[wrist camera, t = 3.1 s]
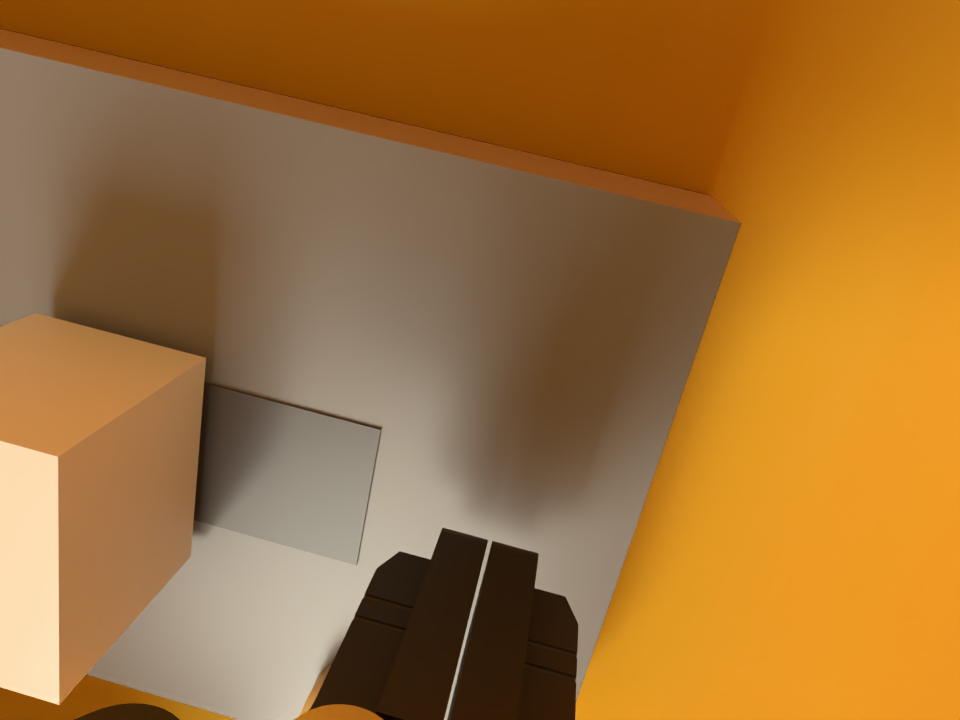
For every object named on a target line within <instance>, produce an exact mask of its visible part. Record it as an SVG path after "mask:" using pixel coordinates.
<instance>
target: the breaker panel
mask: <svg viewBox="0 0 960 720" xmlns="http://www.w3.org/2000/svg"><path fill="white" fill-rule="evenodd" d="M740 225H741V223H740V222H739V221H738V220H737V219H736V218H735V217H734V216H733V215H732V214H730V213H729V212H728V211H727V210H726V209H725V208H724V207H723V206H722V205H721V204H719V203H718V202H717V201H716V200H715V199H714V198H713V197H712V196H710V195H706V194H702V193H698V192H693V191H689V190H685V189H681V188H676V187H672V186H668V185H663V184H659V183H655V182H651V181H646V180H642V179H638V178H634V177H629V176H625V175H621V174H617V173H612V172H608V171H604V170H600V169H595V168H591V167H587V166H583V165H578V164H574V163H570V162H566V161H561V160H557V159H553V158H548V157H544V156H540V155H536V154H531V153H527V152H523V151H519V150H514V149H510V148H506V147H502V146H497V145H493V144H489V143H485V142H480V141H476V140H472V139H468V138H463V137H459V136H455V135H451V134H446V133H442V132H438V131H433V130H429V129H425V128H421V127H416V126H412V125H408V124H404V123H399V122H395V121H391V120H387V119H382V118H378V117H374V116H370V115H365V114H361V113H357V112H353V111H348V110H344V109H340V108H336V107H331V106H327V105H323V104H318V103H314V102H310V101H306V100H301V99H297V98H293V97H289V96H284V95H280V94H276V93H272V92H267V91H263V90H259V89H255V88H250V87H246V86H242V85H238V84H233V83H229V82H225V81H221V80H216V79H212V78H208V77H203V76H199V75H195V74H191V73H186V72H182V71H178V70H174V69H169V68H165V67H161V66H157V65H152V64H148V63H144V62H140V61H135V60H131V59H127V58H123V57H118V56H114V55H110V54H106V53H101V52H97V51H93V50H88V49H84V48H80V47H76V46H71V45H67V44H63V43H59V42H54V41H50V40H46V39H42V38H37V37H33V36H29V35H25V34H20V33H16V32H12V31H8V30H3V29H0V327H1V326H4V325H6V324H9V323H12V322H14V321H17V320H19V319H22V318H25V317H27V316H30V315H32V314H35V313H38V314H41V315H45V316H49V317H53V318H57V319H60V320H64V321H68V322H72V323H76V324H79V325H83V326H87V327H91V328H95V329H98V330H102V331H106V332H110V333H114V334H118V335H121V336H125V337H129V338H133V339H137V340H140V341H144V342H148V343H152V344H156V345H159V346H163V347H167V348H171V349H175V350H178V351H182V352H186V353H190V354H194V355H197V356H201V357H205V358H206V365H205V378H204V391H203V404H202V417H201V430H200V443H199V456H198V469H197V482H196V495H195V509H194V522H193V535H192V548H191V557H190V558H189V559H188V560H187V561H186V562H185V564H184V565H183V566H182V567H181V568H180V569H179V570H178V571H177V573H176V574H175V575H174V576H173V577H172V578H171V579H170V580H169V582H168V583H167V584H166V585H165V586H164V587H163V588H162V590H161V591H160V592H159V593H158V594H157V595H156V596H155V597H154V599H153V600H152V601H151V602H150V603H149V604H148V605H147V606H146V608H145V609H144V610H143V611H142V612H141V613H140V614H139V616H138V617H137V618H136V619H135V620H134V621H133V622H132V623H131V625H130V626H129V627H128V628H127V629H126V630H125V631H124V632H123V634H122V635H121V636H120V637H119V638H118V639H117V640H116V642H115V643H114V644H113V645H112V646H111V647H110V648H109V649H108V651H107V652H106V653H105V654H104V655H103V656H102V657H101V658H100V660H99V661H98V662H97V663H96V664H95V665H94V666H93V668H92V669H91V670H90V671H89V672H88V673H87V674H86V675H89V676H93V677H96V678H99V679H103V680H106V681H109V682H113V683H116V684H119V685H123V686H126V687H129V688H133V689H136V690H140V691H143V692H146V693H150V694H153V695H156V696H160V697H163V698H166V699H170V700H173V701H176V702H180V703H183V704H187V705H190V706H193V707H197V708H200V709H203V710H207V711H210V712H213V713H217V714H220V715H223V716H227V717H230V718H234V719H237V720H294V719H296V718H297V717H298V716H300V715H301V714H303V713H305V712H307V711H309V709H310V708H311V706H312V704H313V703H314V701H315V699H316V697H317V695H318V693H319V690H320V688H321V686H322V684H323V682H324V680H325V678H326V676H327V673H328V671H329V669H330V667H331V665H332V663H333V661H334V658H335V656H336V654H337V652H338V650H339V648H340V646H341V643H342V641H343V639H344V637H345V635H346V633H347V631H348V628H349V626H350V624H351V622H352V620H354V617H355V613H356V611H357V609H358V607H359V605H360V603H361V601H362V598H364V595H365V592H366V590H367V588H368V586H369V583H370V581H371V579H372V577H373V575H374V573H375V571H376V569H377V568H378V567H379V566H381V565H382V564H383V563H385V562H386V561H387V560H389V559H390V558H391V557H393V556H394V555H395V554H397V553H398V552H399V551H401V552H405V553H409V554H412V555H416V556H419V557H423V558H427V559H430V560H431V558H432V555H433V552H434V549H435V547H436V544H437V541H438V538H439V535H440V533H441V530H442V528H447V529H450V530H454V531H458V532H461V533H465V534H469V535H472V536H476V537H480V538H483V539H487V540H488V543H487V547H486V551H485V555H484V559H483V563H482V567H481V571H480V576H479V580H478V584H477V588H476V592H475V596H474V600H473V604H472V608H471V612H470V616H469V620H468V624H467V628H466V632H465V636H464V640H463V645H462V649H461V653H460V657H459V661H458V665H457V669H456V673H455V677H454V681H453V685H452V689H451V693H450V697H449V701H448V705H447V710H446V714H445V718H444V720H447V718H448V714H449V710H450V706H451V702H452V697H453V693H454V689H455V685H456V681H457V677H458V673H459V668H460V664H461V660H462V656H463V652H464V648H465V644H466V640H467V636H468V632H469V628H470V624H471V620H472V617H473V613H474V609H475V605H476V601H477V597H478V594H479V590H480V586H481V582H482V578H483V574H484V571H485V567H486V563H487V559H488V555H489V552H490V548H491V544H492V541H495V542H499V543H502V544H506V545H510V546H513V547H517V548H521V549H524V550H528V551H532V552H535V553H538V554H539V555H538V565H537V572H536V580H535V588H536V589H540V590H543V591H547V592H551V593H554V594H558V595H562V596H565V597H566V599H567V601H568V603H569V605H570V607H571V610H572V612H573V614H574V616H575V618H576V620H577V622H578V650H577V657H576V658H577V677H576V681H575V682H576V700H577V697H578V694H579V691H580V688H581V685H582V683H583V680H584V677H585V674H586V671H587V668H588V665H589V662H590V659H591V656H592V654H593V651H594V648H595V645H596V642H597V639H598V636H599V633H600V630H601V628H602V625H603V622H604V619H605V616H606V613H607V610H608V607H609V604H610V601H611V599H612V596H613V593H614V590H615V587H616V584H617V581H618V578H619V575H620V572H621V570H622V567H623V564H624V561H625V558H626V555H627V552H628V549H629V546H630V544H631V541H632V538H633V535H634V532H635V529H636V526H637V523H638V520H639V517H640V515H641V512H642V509H643V506H644V503H645V500H646V497H647V494H648V491H649V489H650V486H651V483H652V480H653V477H654V474H655V471H656V468H657V465H658V462H659V460H660V457H661V454H662V451H663V448H664V445H665V442H666V439H667V436H668V434H669V431H670V428H671V425H672V422H673V419H674V416H675V413H676V410H677V407H678V405H679V402H680V399H681V396H682V393H683V390H684V387H685V384H686V381H687V378H688V376H689V373H690V370H691V367H692V364H693V361H694V358H695V355H696V352H697V350H698V347H699V344H700V341H701V338H702V335H703V332H704V329H705V326H706V323H707V321H708V318H709V315H710V312H711V309H712V306H713V303H714V300H715V297H716V295H717V292H718V289H719V286H720V283H721V280H722V277H723V274H724V271H725V268H726V266H727V263H728V260H729V257H730V254H731V251H732V248H733V245H734V242H735V240H736V237H737V234H738V231H739V228H740Z"/></svg>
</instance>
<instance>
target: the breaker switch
mask: <svg viewBox="0 0 960 720" xmlns="http://www.w3.org/2000/svg"><path fill="white" fill-rule="evenodd" d="M205 365H206V358H205V357H201V356H197V355H194V354H190V353H186V352H182V351H178V350H175V349H171V348H167V347H163V346H159V345H156V344H152V343H148V342H144V341H140V340H137V339H133V338H129V337H125V336H121V335H118V334H114V333H110V332H106V331H102V330H98V329H95V328H91V327H87V326H83V325H79V324H76V323H72V322H68V321H64V320H60V319H57V318H53V317H49V316H45V315H41V314H38V313H35V314H32V315H30V316H27V317H25V318H22V319H19V320H17V321H14V322H12V323H9V324H6V325H4V326H1V327H0V687H1V688H4V689H8V690H11V691H14V692H18V693H21V694H24V695H28V696H31V697H34V698H38V699H41V700H44V701H47V702H51V703H54V704H57V705H60V704H61V703H62V701H63V700H64V699H65V698H66V697H67V696H68V695H69V694H70V692H71V691H72V690H73V689H74V688H75V687H76V686H77V684H78V683H79V682H80V681H81V680H82V679H83V678H84V677H85V675H86V674H87V673H88V672H89V671H90V670H91V669H92V668H93V666H94V665H95V664H96V663H97V662H98V661H99V660H100V658H101V657H102V656H103V655H104V654H105V653H106V652H107V651H108V649H109V648H110V647H111V646H112V645H113V644H114V643H115V642H116V640H117V639H118V638H119V637H120V636H121V635H122V634H123V632H124V631H125V630H126V629H127V628H128V627H129V626H130V625H131V623H132V622H133V621H134V620H135V619H136V618H137V617H138V616H139V614H140V613H141V612H142V611H143V610H144V609H145V608H146V606H147V605H148V604H149V603H150V602H151V601H152V600H153V599H154V597H155V596H156V595H157V594H158V593H159V592H160V591H161V590H162V588H163V587H164V586H165V585H166V584H167V583H168V582H169V580H170V579H171V578H172V577H173V576H174V575H175V574H176V573H177V571H178V570H179V569H180V568H181V567H182V566H183V565H184V564H185V562H186V561H187V560H188V559H189V558H190V557H191V548H192V535H193V522H194V509H195V495H196V482H197V469H198V456H199V443H200V430H201V417H202V404H203V391H204V378H205Z"/></svg>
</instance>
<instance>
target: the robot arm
mask: <svg viewBox="0 0 960 720" xmlns="http://www.w3.org/2000/svg"><path fill="white" fill-rule="evenodd" d="M487 543H488V540H487V539H483V538H480V537H476V536H472V535H469V534H465V533H461V532H458V531H454V530H450V529H447V528H442V530H441V533H440V535H439V538H438V541H437V544H436V547H435V549H434V552H433V555H432V558H431V560H430V559H427V558H423V557H419V556H416V555H412V554H409V553H405V552H401V551H399V552H398V553H397V554H395V555H394V556H393V557H391V558H390V559H389V560H387V561H386V562H385V563H383V564H382V565H381V566H379V567H378V568H377V569H376V571H375V573H374V575H373V577H372V579H371V581H370V583H369V586H368V588H367V590H366V592H365V595H364V598H362V601H361V603H360V605H359V607H358V609H357V611H356V613H355V617H354V620H352V622H351V624H350V626H349V628H348V631H347V633H346V635H345V637H344V639H343V641H342V643H341V646H340V648H339V650H338V652H337V654H336V656H335V658H334V661H333V663H332V665H331V667H330V669H329V671H328V673H327V676H326V678H325V680H324V682H323V684H322V686H321V688H320V690H319V693H318V695H317V697H316V699H315V701H314V703H313V704H312V706H311V708H310V709H309V711H307V712H305V713H303V714H301V715H300V716H298V717H297V718H296V719H294V720H444V718H445V714H446V710H447V705H448V701H449V697H450V693H451V689H452V685H453V681H454V677H455V673H456V669H457V665H458V661H459V657H460V653H461V649H462V645H463V640H464V636H465V632H466V628H467V624H468V620H469V616H470V612H471V608H472V604H473V600H474V596H475V592H476V588H477V584H478V580H479V576H480V571H481V567H482V563H483V559H484V555H485V551H486V547H487ZM538 555H539V554H538V553H535V552H532V551H528V550H524V549H521V548H517V547H513V546H510V545H506V544H502V543H499V542H495V541H492V544H491V548H490V552H489V555H488V559H487V563H486V567H485V571H484V574H483V578H482V582H481V586H480V590H479V594H478V597H477V601H476V605H475V609H474V613H473V617H472V620H471V624H470V628H469V632H468V636H467V640H466V644H465V648H464V652H463V656H462V660H461V664H460V668H459V673H458V677H457V681H456V685H455V689H454V693H453V697H452V702H451V706H450V710H449V714H448V718H447V720H575V705H576V682H575V681H576V677H577V658H576V657H577V650H578V622H577V620H576V618H575V616H574V614H573V612H572V610H571V607H570V605H569V603H568V601H567V599H566V597H565V596H562V595H558V594H554V593H551V592H547V591H543V590H540V589H536V588H535V580H536V572H537V565H538ZM75 720H179V719H178V718H177V717H176V716H175V715H173V714H172V713H170V712H168V711H166V710H165V709H162V708H159V707H156V706H152V705H147V704H132V703H131V704H120V705H115V706H110V707H106V708H103V709H100V710H97V711H94V712H92V713H89V714H87V715H84V716H82V717H80V718H77V719H75Z"/></svg>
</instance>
